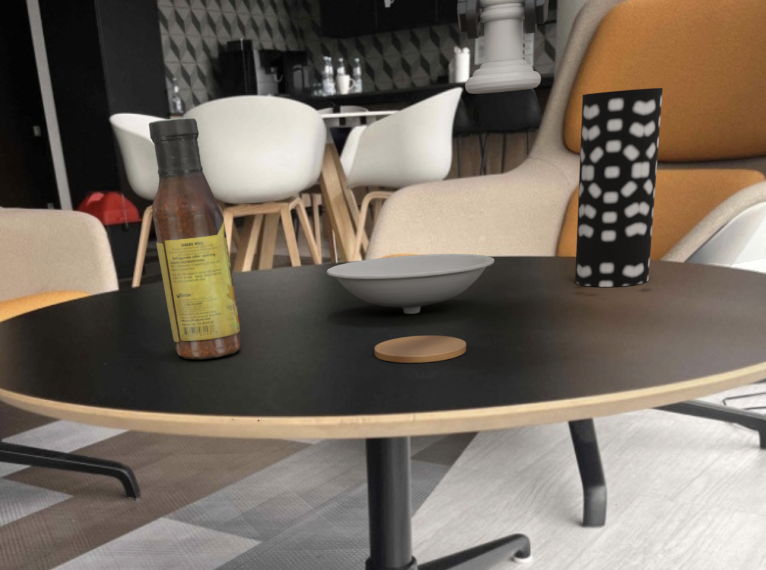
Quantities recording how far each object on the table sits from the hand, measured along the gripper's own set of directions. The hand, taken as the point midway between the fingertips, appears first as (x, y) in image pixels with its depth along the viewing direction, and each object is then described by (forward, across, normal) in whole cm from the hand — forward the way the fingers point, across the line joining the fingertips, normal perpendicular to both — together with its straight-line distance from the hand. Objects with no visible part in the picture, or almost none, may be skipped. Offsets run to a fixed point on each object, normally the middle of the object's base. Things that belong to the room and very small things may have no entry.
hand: (501, 24), depth 59 cm
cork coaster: (+12, -7, +21) cm, 26 cm away
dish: (0, -12, +34) cm, 36 cm away
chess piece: (+2, 0, +4) cm, 5 cm away
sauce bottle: (+13, -28, +21) cm, 37 cm away
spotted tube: (-13, +9, +47) cm, 49 cm away
